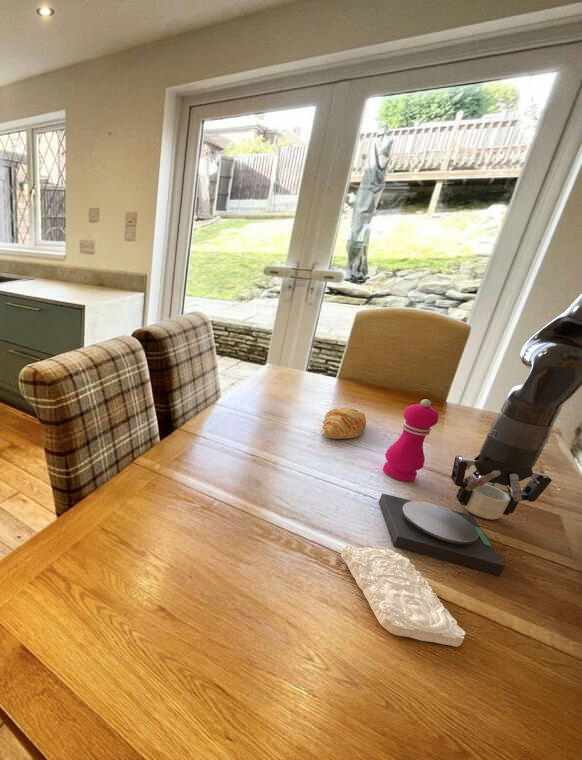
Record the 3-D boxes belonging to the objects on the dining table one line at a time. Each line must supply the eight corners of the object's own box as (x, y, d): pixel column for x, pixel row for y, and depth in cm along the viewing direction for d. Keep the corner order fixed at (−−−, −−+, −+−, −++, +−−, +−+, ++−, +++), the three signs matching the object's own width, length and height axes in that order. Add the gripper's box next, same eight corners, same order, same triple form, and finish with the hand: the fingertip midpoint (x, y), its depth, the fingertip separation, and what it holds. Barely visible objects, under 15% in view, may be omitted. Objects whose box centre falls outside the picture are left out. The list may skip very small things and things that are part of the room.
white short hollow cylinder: (492, 506, 84) (502, 487, 82) (505, 524, 79) (516, 504, 77) (457, 498, 87) (465, 479, 85) (467, 515, 82) (477, 495, 80)
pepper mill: (388, 480, 93) (417, 404, 86) (374, 463, 100) (400, 391, 92) (424, 485, 92) (456, 408, 84) (407, 467, 98) (436, 394, 91)
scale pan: (464, 513, 78) (465, 511, 78) (488, 552, 69) (489, 549, 69) (396, 497, 82) (397, 494, 82) (410, 531, 73) (411, 529, 73)
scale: (467, 524, 80) (473, 513, 79) (499, 576, 68) (506, 564, 67) (378, 502, 86) (382, 491, 85) (393, 546, 74) (398, 534, 73)
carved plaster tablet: (401, 561, 71) (407, 548, 70) (466, 650, 56) (475, 634, 55) (336, 552, 72) (341, 539, 71) (383, 636, 58) (390, 621, 57)
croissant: (330, 455, 109) (352, 439, 103) (302, 427, 114) (321, 410, 108) (365, 433, 120) (386, 417, 114) (338, 408, 125) (357, 392, 119)
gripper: (556, 438, 77) (519, 507, 83) (460, 422, 82) (432, 488, 89) (580, 457, 70) (538, 530, 77) (475, 438, 76) (444, 508, 82)
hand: (482, 507), depth 83 cm, fingers closed on white short hollow cylinder, 6 cm apart
